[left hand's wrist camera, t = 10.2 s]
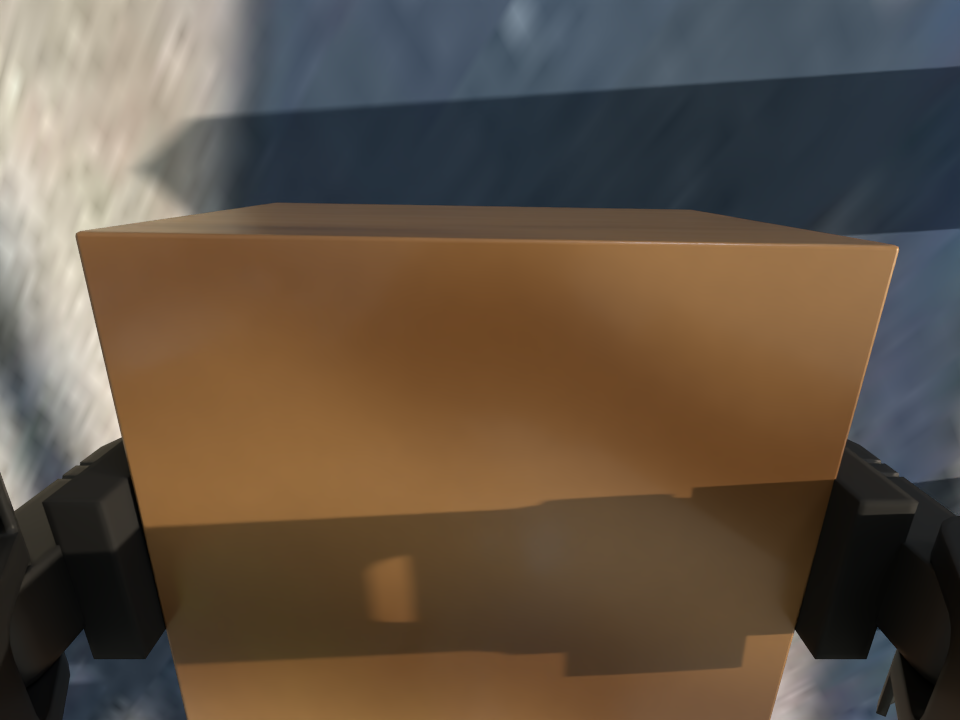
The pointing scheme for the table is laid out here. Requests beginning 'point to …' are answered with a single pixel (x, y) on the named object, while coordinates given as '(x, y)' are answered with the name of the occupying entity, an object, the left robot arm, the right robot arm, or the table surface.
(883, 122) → the table surface
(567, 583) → the slab
